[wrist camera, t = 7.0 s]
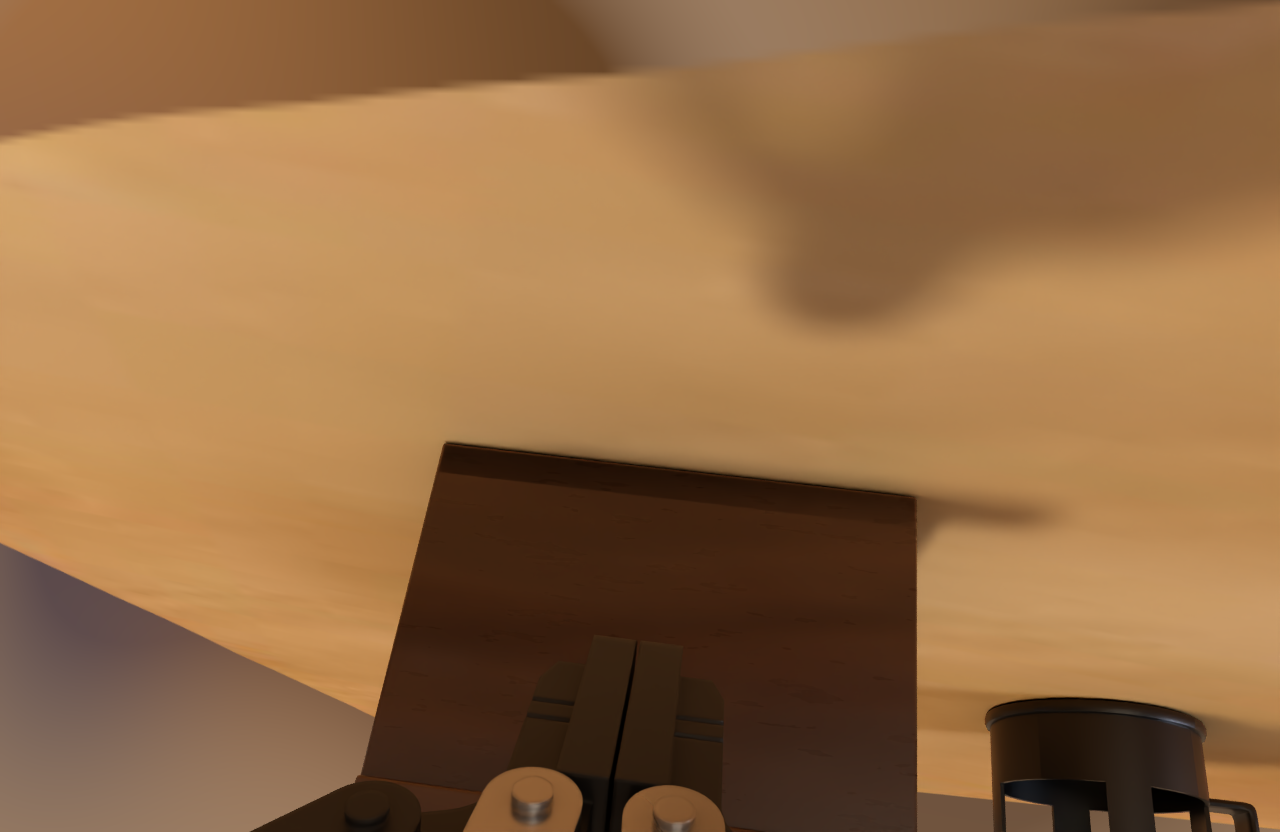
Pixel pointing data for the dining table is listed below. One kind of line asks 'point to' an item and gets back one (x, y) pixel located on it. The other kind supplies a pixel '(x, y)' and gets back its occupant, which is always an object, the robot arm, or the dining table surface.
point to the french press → (1104, 764)
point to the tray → (664, 627)
